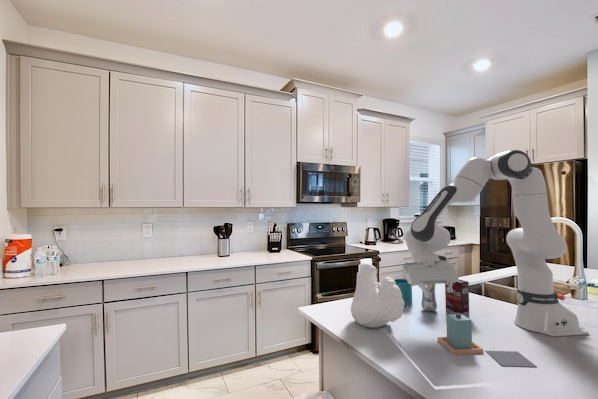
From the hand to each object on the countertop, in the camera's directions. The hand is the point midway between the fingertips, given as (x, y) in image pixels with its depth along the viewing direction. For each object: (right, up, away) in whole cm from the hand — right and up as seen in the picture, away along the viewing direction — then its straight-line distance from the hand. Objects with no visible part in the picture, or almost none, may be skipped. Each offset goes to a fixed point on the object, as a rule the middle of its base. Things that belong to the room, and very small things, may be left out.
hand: (439, 292), depth 113 cm
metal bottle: (+7, -16, +24) cm, 29 cm away
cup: (-3, -16, +34) cm, 38 cm away
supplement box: (+16, -16, +17) cm, 28 cm away
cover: (+1, -15, -12) cm, 19 cm away
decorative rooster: (-22, -16, +7) cm, 28 cm away
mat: (+13, -15, -21) cm, 28 cm away
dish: (+1, -15, -12) cm, 19 cm away
